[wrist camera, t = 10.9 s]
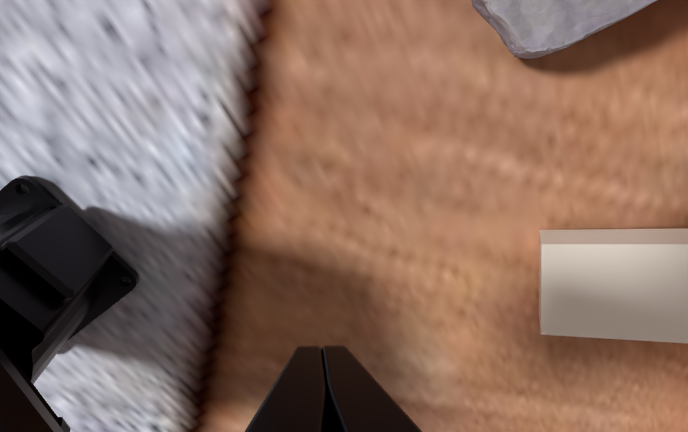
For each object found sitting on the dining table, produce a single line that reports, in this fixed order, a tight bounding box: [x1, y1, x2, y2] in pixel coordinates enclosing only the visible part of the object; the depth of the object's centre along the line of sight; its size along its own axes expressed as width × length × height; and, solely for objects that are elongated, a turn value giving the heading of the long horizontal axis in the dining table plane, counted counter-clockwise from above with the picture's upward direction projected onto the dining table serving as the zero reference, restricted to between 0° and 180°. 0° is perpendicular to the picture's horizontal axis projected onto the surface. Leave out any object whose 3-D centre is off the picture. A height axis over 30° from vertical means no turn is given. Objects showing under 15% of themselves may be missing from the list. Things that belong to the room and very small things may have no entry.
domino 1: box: [539, 228, 688, 343], centre depth 21 cm, size 2×5×9 cm
